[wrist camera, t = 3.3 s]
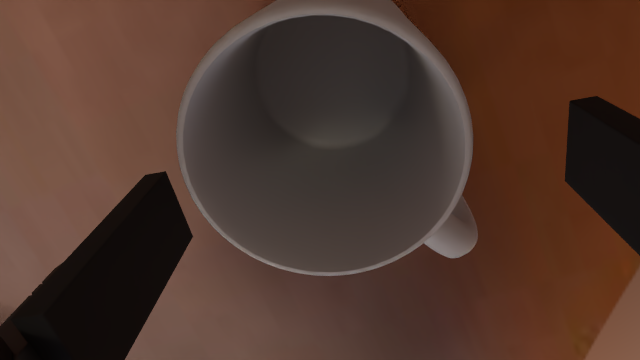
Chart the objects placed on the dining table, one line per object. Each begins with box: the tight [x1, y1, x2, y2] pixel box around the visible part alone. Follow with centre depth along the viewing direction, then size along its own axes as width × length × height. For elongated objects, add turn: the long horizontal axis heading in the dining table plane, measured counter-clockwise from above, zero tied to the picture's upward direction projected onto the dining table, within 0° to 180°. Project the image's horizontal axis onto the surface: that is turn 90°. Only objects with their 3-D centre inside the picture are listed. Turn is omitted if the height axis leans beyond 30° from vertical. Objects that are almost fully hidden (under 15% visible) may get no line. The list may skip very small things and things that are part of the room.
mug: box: [176, 0, 478, 276], centre depth 17 cm, size 12×8×11 cm
